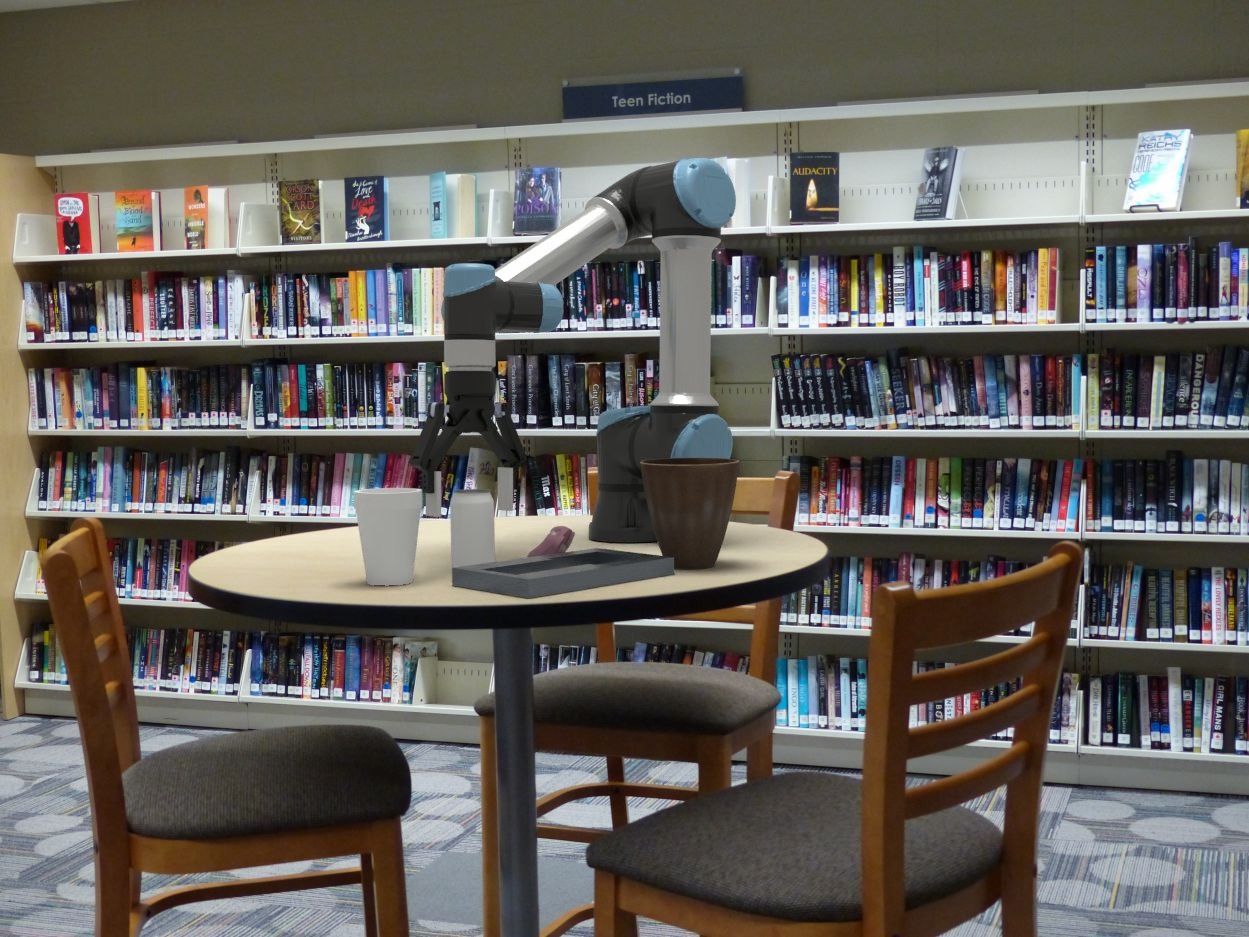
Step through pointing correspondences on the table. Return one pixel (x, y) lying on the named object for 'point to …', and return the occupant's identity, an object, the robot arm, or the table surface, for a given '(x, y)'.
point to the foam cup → (388, 533)
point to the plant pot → (690, 506)
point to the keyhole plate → (561, 572)
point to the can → (472, 527)
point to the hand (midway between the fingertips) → (470, 513)
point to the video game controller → (554, 542)
